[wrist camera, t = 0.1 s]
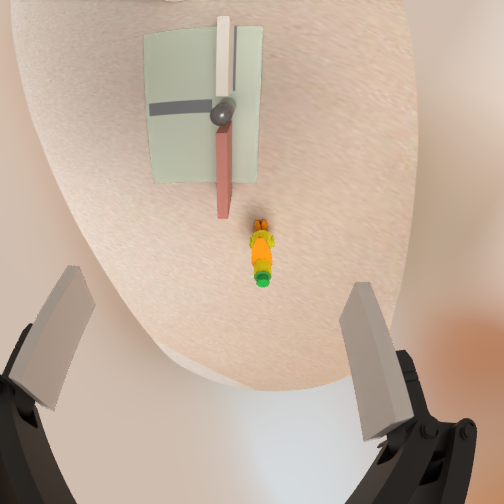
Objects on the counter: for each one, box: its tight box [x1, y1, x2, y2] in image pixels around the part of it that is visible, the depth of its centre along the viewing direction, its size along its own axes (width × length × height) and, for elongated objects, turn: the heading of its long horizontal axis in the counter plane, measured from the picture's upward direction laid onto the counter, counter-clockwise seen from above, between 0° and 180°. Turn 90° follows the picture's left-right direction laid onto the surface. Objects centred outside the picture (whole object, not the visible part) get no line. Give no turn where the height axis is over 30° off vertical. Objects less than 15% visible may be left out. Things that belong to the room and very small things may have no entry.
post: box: [210, 98, 237, 126], centre depth 28 cm, size 2×2×8 cm
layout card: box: [143, 26, 263, 183], centre depth 31 cm, size 22×15×1 cm
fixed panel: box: [216, 16, 235, 96], centre depth 25 cm, size 9×1×7 cm, turn 178°
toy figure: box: [250, 220, 275, 287], centre depth 38 cm, size 7×4×12 cm, turn 6°
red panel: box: [216, 121, 232, 219], centre depth 33 cm, size 10×1×7 cm, turn 178°
